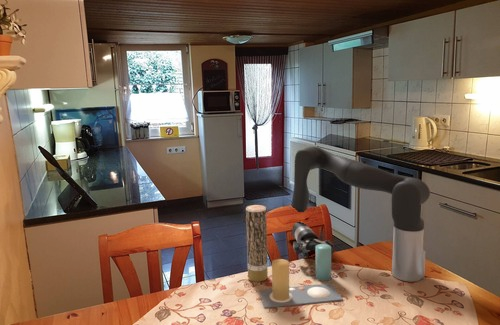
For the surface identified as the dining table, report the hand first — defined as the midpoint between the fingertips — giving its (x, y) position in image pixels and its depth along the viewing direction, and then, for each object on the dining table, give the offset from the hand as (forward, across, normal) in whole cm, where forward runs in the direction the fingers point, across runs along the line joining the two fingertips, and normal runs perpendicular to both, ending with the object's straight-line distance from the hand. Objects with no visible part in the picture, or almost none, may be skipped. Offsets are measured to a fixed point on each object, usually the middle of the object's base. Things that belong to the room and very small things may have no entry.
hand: (319, 254), depth 127 cm
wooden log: (+1, -22, +7) cm, 23 cm away
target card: (+15, -11, +6) cm, 19 cm away
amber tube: (+15, -17, +6) cm, 23 cm away
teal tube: (+5, 0, +6) cm, 8 cm away
